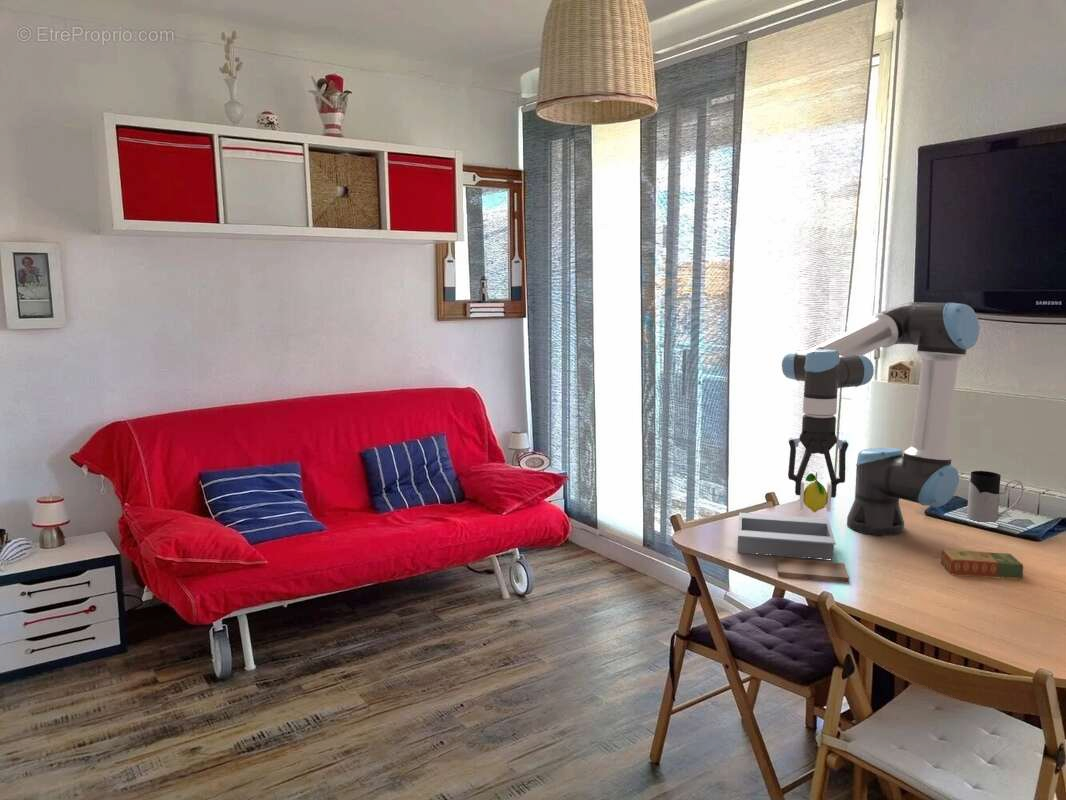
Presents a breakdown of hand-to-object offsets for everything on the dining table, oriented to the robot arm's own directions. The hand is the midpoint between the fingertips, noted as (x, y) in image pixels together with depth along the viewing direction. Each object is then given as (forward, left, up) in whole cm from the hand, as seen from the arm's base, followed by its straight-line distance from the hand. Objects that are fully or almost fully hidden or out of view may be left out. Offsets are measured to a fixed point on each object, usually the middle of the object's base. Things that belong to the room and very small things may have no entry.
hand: (814, 508), depth 193 cm
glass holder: (-53, -52, -16) cm, 76 cm away
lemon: (0, 0, -1) cm, 1 cm away
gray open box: (+6, -16, -16) cm, 23 cm away
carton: (-40, -11, -17) cm, 45 cm away
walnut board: (0, 0, -16) cm, 16 cm away
